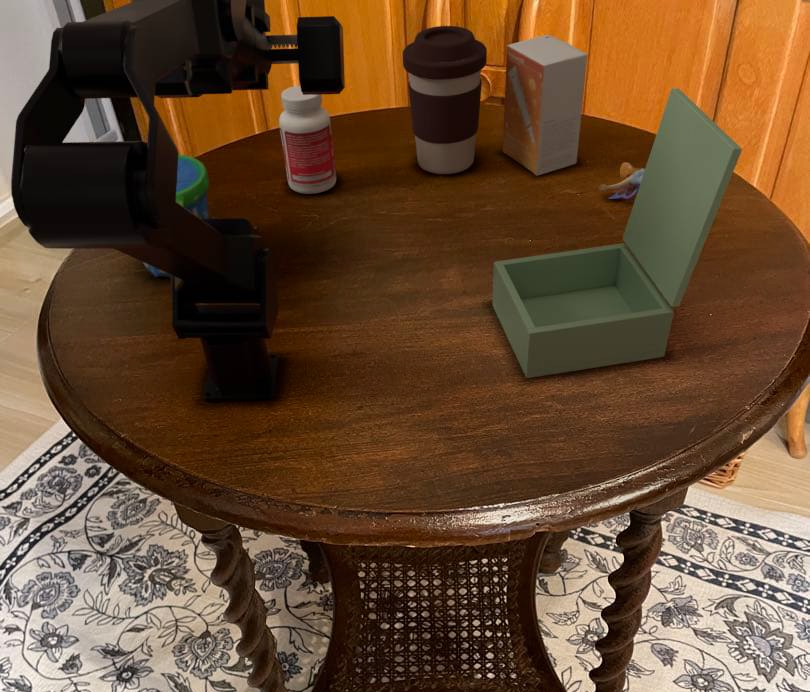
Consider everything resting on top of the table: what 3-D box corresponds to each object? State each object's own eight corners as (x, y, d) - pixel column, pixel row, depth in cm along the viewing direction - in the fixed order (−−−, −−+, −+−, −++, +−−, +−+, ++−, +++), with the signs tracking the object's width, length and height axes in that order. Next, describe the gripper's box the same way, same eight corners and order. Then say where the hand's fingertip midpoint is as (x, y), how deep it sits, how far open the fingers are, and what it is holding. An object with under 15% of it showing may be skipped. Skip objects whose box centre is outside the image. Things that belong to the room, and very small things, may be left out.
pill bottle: (346, 186, 108) (336, 93, 100) (303, 200, 106) (290, 107, 98) (321, 168, 112) (310, 77, 104) (279, 182, 110) (265, 90, 102)
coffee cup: (404, 149, 114) (399, 23, 103) (479, 143, 115) (481, 17, 103) (410, 183, 108) (404, 53, 97) (489, 177, 108) (492, 47, 97)
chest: (526, 378, 81) (529, 333, 77) (492, 305, 89) (493, 261, 85) (664, 357, 82) (674, 311, 78) (618, 286, 90) (625, 242, 87)
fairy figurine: (662, 214, 93) (588, 162, 99) (651, 252, 97) (581, 200, 103) (736, 182, 97) (661, 134, 103) (723, 220, 101) (651, 172, 107)
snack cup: (236, 289, 93) (217, 199, 86) (139, 309, 92) (110, 219, 84) (214, 222, 103) (195, 136, 96) (126, 239, 102) (99, 153, 94)
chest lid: (733, 148, 68) (742, 148, 68) (671, 87, 76) (679, 88, 76) (671, 307, 78) (679, 307, 78) (622, 238, 86) (629, 238, 86)
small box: (501, 153, 112) (505, 44, 103) (541, 141, 114) (549, 32, 104) (536, 177, 107) (543, 64, 98) (578, 164, 109) (589, 52, 100)
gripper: (326, -72, 71) (351, -20, 86) (107, -63, 72) (169, -14, 87) (331, 79, 75) (355, 104, 89) (123, 84, 76) (179, 108, 91)
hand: (264, 73), depth 89 cm, fingers open, 9 cm apart
